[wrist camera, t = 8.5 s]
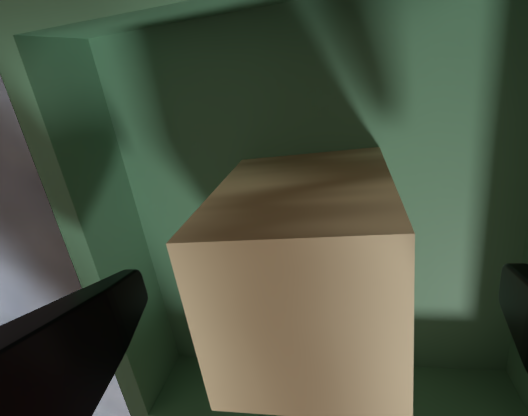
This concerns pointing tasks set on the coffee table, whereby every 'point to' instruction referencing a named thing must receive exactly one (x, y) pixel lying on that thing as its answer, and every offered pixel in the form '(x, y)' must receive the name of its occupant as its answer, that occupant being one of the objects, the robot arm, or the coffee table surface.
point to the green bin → (284, 154)
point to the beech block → (302, 287)
